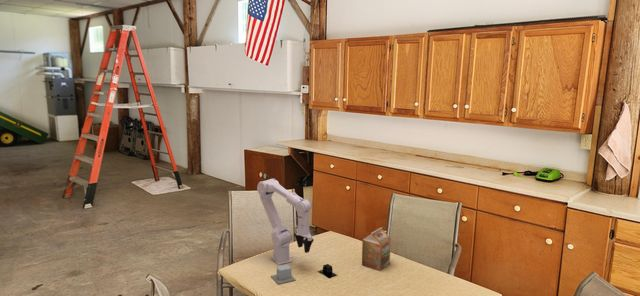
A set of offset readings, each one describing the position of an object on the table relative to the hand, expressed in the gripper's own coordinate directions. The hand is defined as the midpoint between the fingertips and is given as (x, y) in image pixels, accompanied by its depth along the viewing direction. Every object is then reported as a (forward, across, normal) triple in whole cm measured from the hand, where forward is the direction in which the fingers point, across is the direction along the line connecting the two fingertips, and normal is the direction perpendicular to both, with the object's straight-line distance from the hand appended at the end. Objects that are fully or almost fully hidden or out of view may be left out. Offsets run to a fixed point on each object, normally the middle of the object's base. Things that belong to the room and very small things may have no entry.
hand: (303, 249), depth 218 cm
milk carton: (+10, +14, +35) cm, 39 cm away
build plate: (+11, +11, +8) cm, 17 cm away
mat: (+10, +6, -14) cm, 18 cm away
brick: (+9, +6, -14) cm, 18 cm away
